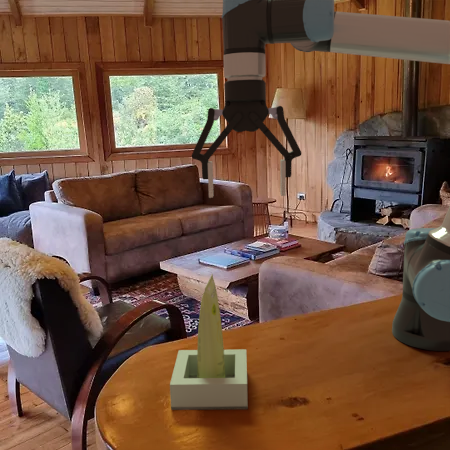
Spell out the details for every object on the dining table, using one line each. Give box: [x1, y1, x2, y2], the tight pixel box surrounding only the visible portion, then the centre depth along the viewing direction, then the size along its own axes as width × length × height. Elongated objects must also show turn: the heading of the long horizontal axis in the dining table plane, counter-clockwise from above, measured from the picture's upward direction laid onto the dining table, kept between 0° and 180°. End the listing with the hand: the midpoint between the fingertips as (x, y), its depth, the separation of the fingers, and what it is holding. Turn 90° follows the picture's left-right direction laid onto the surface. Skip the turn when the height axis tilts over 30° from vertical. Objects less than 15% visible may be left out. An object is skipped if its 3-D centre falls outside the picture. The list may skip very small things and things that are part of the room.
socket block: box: [169, 348, 248, 411], centre depth 91 cm, size 12×12×4 cm
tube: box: [197, 273, 225, 378], centre depth 89 cm, size 6×5×20 cm
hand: (247, 195), depth 99 cm, fingers open, 13 cm apart
